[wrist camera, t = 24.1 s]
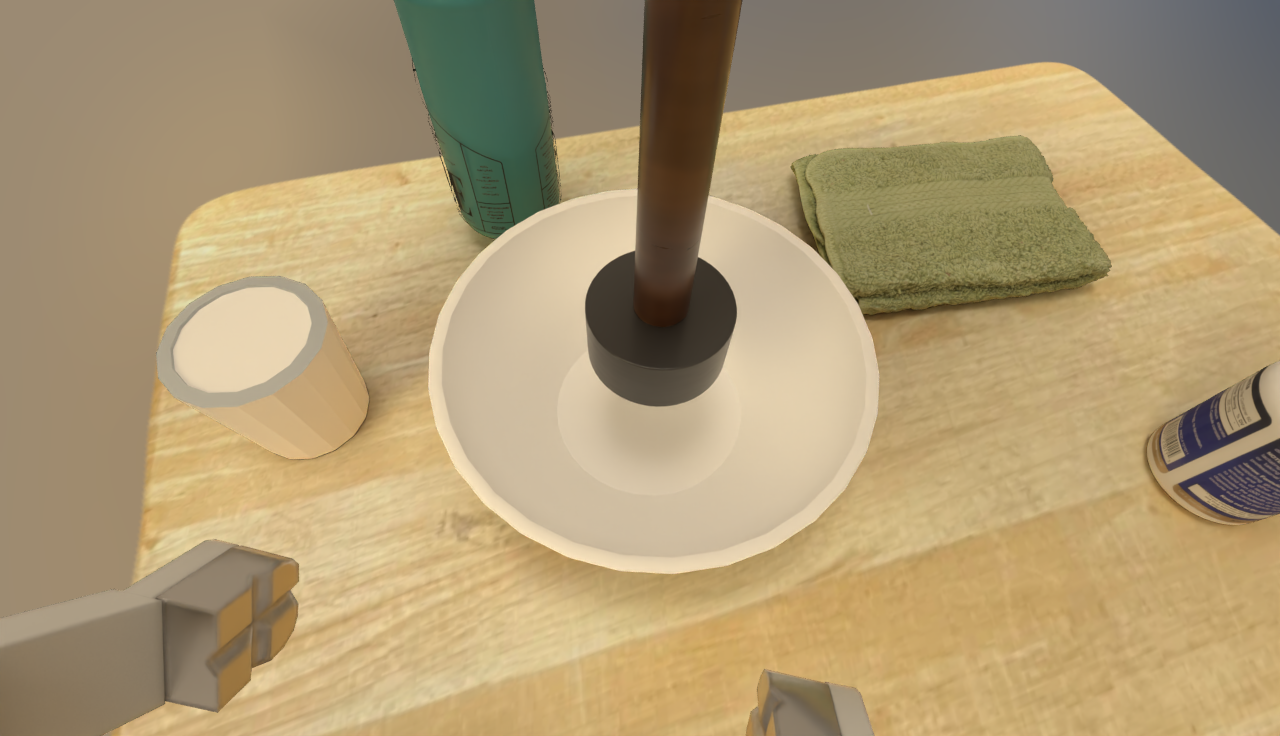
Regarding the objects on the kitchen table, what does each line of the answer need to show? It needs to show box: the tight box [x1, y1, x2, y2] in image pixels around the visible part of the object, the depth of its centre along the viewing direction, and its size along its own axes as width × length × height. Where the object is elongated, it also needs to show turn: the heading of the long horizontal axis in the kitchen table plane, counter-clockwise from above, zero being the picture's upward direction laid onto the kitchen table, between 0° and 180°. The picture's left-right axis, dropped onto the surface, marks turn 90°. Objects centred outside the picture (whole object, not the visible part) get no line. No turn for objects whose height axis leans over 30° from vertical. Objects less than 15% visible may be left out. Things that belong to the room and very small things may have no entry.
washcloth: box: [791, 135, 1112, 315], centre depth 38 cm, size 13×18×3 cm
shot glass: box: [156, 276, 369, 459], centre depth 28 cm, size 7×7×7 cm
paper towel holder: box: [585, 0, 742, 407], centre depth 18 cm, size 6×6×18 cm
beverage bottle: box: [394, 0, 562, 239], centre depth 30 cm, size 6×7×20 cm
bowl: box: [428, 188, 879, 574], centre depth 29 cm, size 20×20×7 cm
